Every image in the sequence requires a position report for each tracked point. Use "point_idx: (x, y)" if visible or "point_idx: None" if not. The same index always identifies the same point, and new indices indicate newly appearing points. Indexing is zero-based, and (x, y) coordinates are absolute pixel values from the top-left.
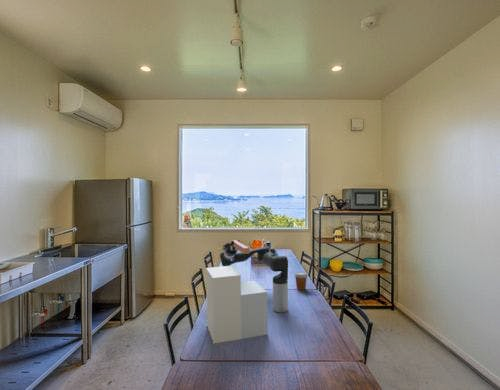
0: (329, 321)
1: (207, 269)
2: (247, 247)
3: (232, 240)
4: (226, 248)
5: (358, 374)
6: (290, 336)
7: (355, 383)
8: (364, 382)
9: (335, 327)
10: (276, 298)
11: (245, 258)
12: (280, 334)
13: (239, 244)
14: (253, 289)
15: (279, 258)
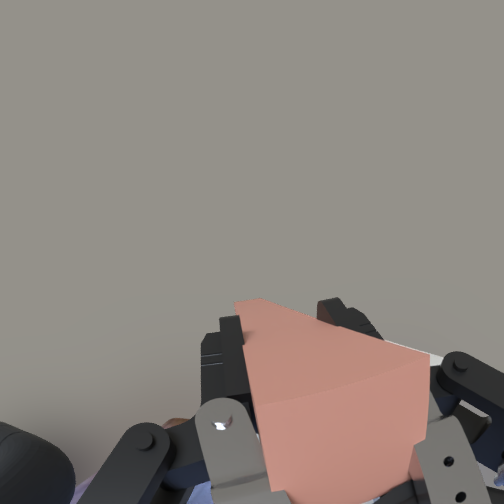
0: (75, 499)
1: (431, 354)
2: (238, 302)
3: (379, 356)
4: (482, 452)
5: (171, 426)
6: (195, 492)
7: (186, 420)
8: (177, 420)
9: (89, 484)
10: None
11: None
12: (212, 501)
13: (265, 306)
14: (256, 434)
15: (22, 430)
